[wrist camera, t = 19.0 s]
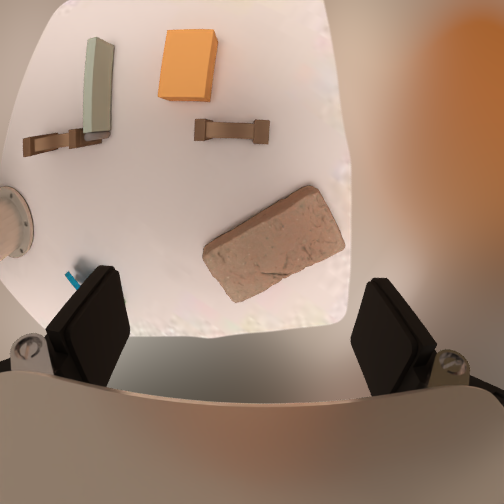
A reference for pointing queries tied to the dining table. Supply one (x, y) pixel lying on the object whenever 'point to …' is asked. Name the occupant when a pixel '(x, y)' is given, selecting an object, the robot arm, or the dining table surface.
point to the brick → (274, 244)
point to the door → (97, 89)
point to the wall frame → (202, 132)
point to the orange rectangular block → (188, 65)
